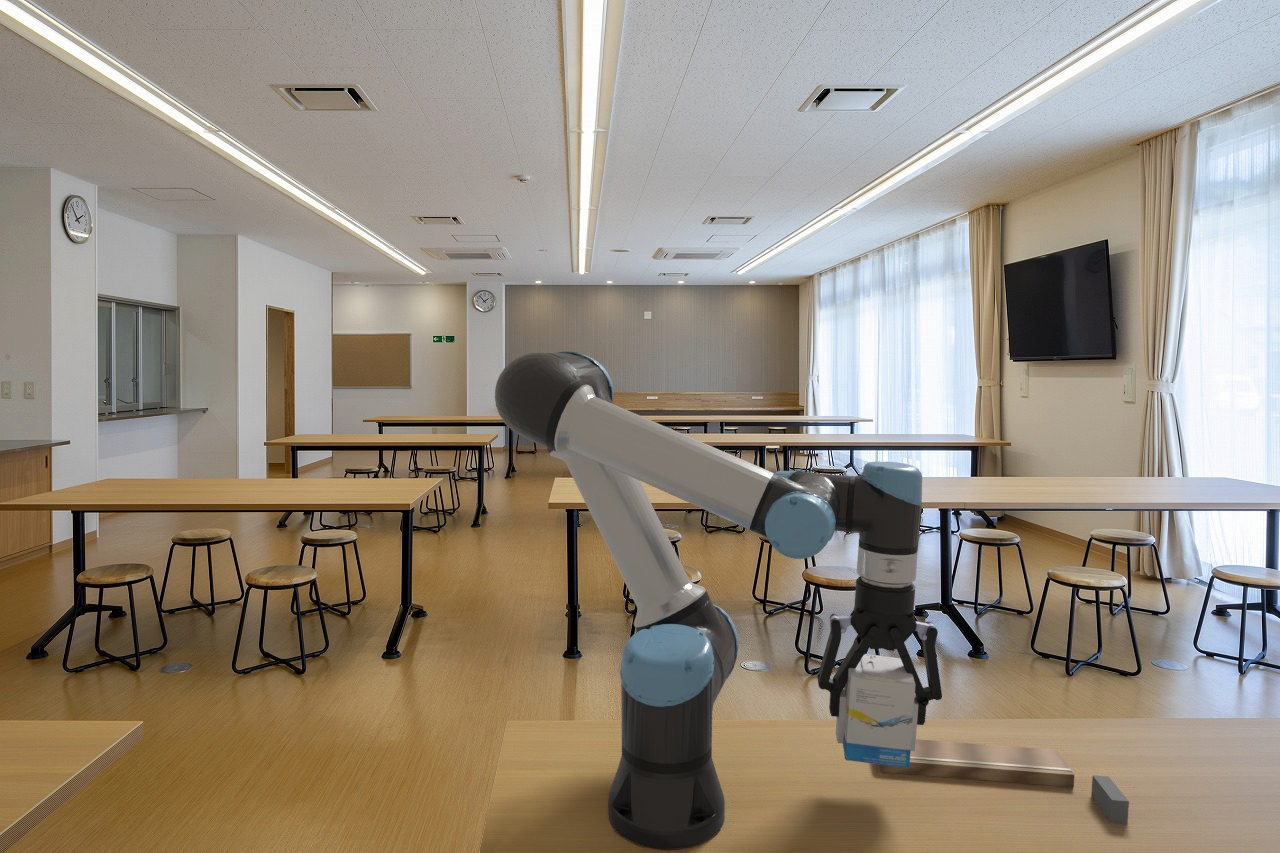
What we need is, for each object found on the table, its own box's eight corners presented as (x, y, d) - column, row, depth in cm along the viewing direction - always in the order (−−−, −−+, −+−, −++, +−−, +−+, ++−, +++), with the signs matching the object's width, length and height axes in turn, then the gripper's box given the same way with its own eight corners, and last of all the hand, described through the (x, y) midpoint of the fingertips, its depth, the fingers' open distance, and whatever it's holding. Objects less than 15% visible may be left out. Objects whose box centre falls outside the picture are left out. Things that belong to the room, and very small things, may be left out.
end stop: (1110, 822, 101) (1112, 800, 101) (1091, 796, 107) (1092, 775, 107) (1127, 823, 101) (1128, 801, 101) (1107, 797, 107) (1108, 776, 107)
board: (879, 771, 113) (879, 759, 113) (872, 747, 120) (873, 735, 120) (1073, 787, 109) (1074, 774, 109) (1055, 761, 116) (1055, 748, 116)
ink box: (911, 769, 102) (917, 682, 101) (843, 760, 104) (849, 675, 102) (902, 737, 110) (908, 657, 109) (840, 729, 112) (845, 650, 111)
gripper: (805, 581, 102) (795, 747, 105) (978, 594, 99) (964, 765, 102) (802, 565, 110) (793, 720, 112) (963, 577, 107) (950, 736, 109)
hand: (874, 741), depth 107 cm, fingers closed on ink box, 9 cm apart
